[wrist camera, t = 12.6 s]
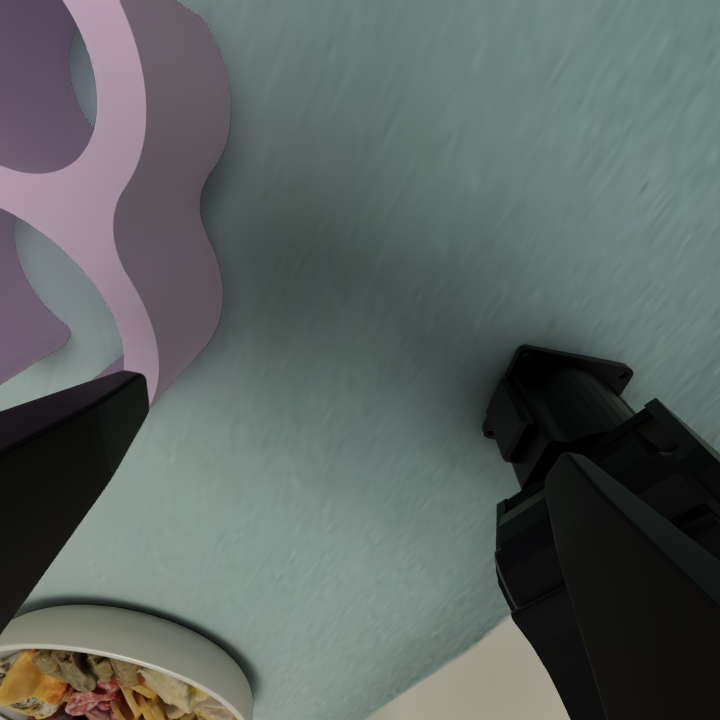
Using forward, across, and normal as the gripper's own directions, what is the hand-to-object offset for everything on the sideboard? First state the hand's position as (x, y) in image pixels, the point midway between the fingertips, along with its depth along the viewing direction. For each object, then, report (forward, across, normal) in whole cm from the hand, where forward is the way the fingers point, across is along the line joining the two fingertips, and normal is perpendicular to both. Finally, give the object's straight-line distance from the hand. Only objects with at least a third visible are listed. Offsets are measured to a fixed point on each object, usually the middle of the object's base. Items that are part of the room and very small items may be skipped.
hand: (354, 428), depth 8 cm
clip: (+13, +13, +1) cm, 19 cm away
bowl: (+14, +18, +52) cm, 57 cm away
